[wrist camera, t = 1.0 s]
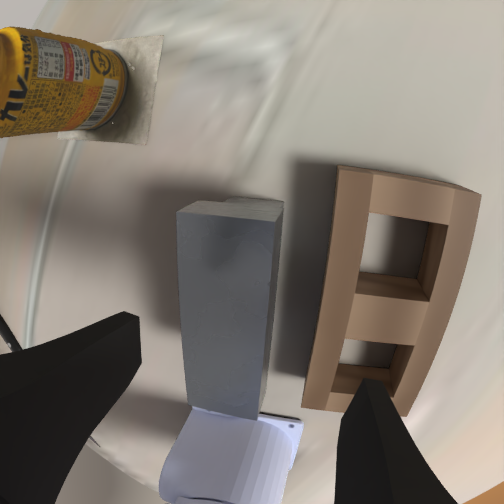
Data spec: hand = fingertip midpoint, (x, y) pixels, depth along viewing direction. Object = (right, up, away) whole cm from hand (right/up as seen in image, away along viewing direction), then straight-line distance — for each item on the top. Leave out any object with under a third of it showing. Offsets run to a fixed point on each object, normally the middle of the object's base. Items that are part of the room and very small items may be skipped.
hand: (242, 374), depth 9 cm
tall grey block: (0, +2, +11) cm, 11 cm away
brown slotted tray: (+8, +1, +9) cm, 12 cm away
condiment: (-10, +15, +9) cm, 20 cm away
